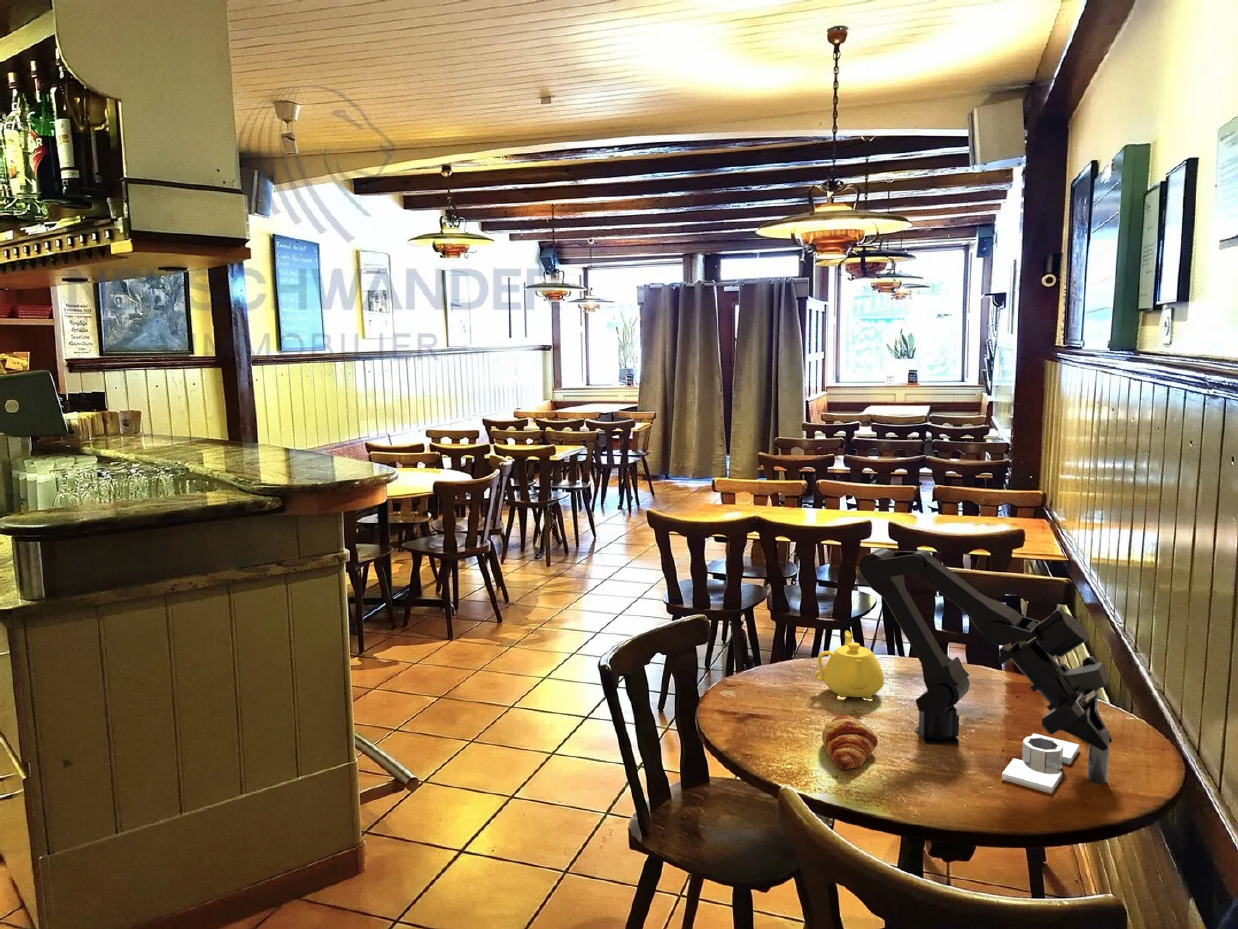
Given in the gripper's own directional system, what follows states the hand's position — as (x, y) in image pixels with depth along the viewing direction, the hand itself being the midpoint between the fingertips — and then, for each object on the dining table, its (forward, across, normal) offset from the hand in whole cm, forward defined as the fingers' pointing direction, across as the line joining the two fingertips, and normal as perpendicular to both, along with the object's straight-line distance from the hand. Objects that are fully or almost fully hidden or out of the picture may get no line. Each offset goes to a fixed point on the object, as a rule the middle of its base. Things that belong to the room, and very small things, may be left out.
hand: (1107, 745), depth 149 cm
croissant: (-23, -16, +33) cm, 44 cm away
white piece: (-3, 0, +12) cm, 12 cm away
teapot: (-32, +10, +42) cm, 54 cm away
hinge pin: (+4, 0, +6) cm, 7 cm away
